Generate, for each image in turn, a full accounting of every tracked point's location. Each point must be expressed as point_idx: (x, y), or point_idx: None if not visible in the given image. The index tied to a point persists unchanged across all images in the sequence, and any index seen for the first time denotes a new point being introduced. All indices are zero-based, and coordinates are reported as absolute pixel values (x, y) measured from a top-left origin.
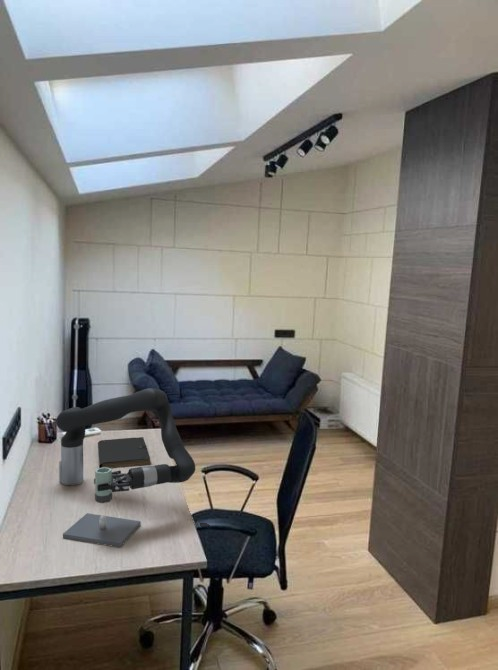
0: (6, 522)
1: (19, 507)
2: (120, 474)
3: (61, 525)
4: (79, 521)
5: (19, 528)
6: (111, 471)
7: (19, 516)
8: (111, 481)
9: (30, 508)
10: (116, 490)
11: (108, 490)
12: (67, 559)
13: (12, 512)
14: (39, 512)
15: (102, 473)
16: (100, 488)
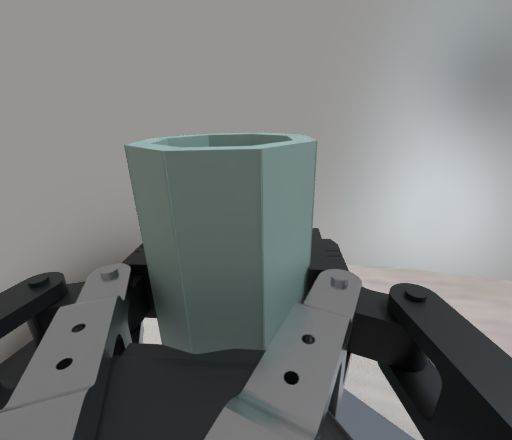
0: (399, 268)
1: (495, 289)
2: (221, 423)
3: (363, 358)
4: (352, 404)
5: (363, 281)
6: (166, 177)
7: (433, 285)
8: (184, 309)
9: (494, 306)
10: (13, 355)
11: (161, 336)
12: (146, 338)
13: (457, 277)
14: (468, 320)
15: (153, 139)
16: None
